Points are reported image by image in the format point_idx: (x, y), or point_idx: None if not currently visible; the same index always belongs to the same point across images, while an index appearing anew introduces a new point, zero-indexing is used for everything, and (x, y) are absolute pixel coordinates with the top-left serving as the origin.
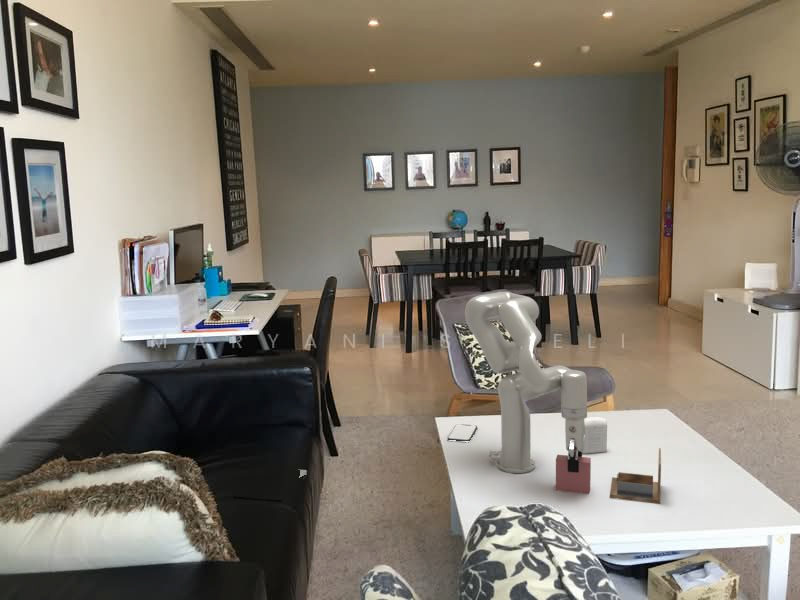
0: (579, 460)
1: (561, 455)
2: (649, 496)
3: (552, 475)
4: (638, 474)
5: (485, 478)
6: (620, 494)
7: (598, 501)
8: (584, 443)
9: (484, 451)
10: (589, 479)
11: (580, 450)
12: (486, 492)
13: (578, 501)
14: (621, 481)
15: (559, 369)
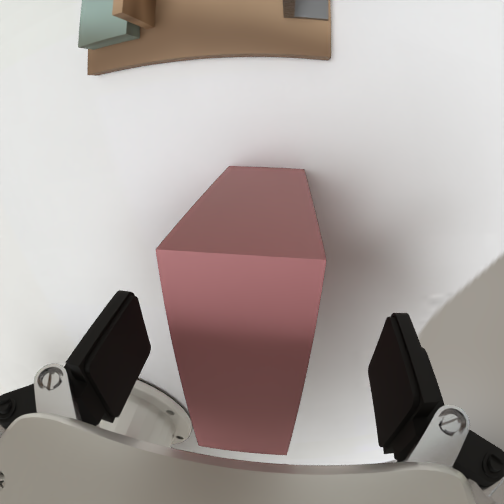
0: (277, 353)
1: (206, 435)
2: None
3: (147, 329)
4: None
5: (250, 455)
6: (324, 1)
7: (387, 123)
8: (166, 499)
9: None
10: (303, 192)
11: (468, 487)
12: (337, 449)
13: (401, 222)
14: (149, 9)
15: None
